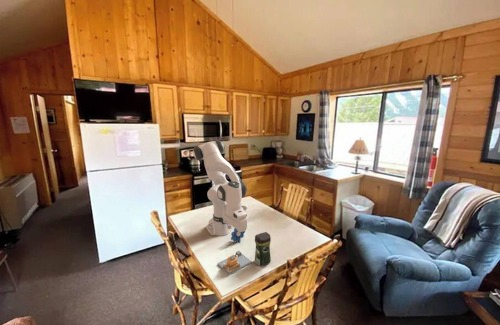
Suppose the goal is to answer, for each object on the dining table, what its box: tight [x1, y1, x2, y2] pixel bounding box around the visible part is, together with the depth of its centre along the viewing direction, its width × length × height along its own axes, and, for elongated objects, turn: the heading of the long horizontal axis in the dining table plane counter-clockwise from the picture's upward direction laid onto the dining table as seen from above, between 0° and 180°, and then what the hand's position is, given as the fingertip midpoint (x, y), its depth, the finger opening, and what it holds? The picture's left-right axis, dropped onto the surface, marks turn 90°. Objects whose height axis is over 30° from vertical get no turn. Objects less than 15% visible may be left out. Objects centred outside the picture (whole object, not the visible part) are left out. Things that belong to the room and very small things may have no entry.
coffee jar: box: [254, 231, 272, 267], centre depth 129 cm, size 10×8×19 cm
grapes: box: [230, 227, 246, 243], centre depth 153 cm, size 12×7×12 cm, turn 122°
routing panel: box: [217, 252, 253, 276], centre depth 129 cm, size 12×17×1 cm
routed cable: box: [232, 250, 242, 258], centre depth 131 cm, size 6×11×2 cm, turn 129°
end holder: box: [223, 261, 240, 273], centre depth 124 cm, size 7×8×2 cm
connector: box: [226, 254, 237, 268], centre depth 124 cm, size 4×4×7 cm
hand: (233, 231), depth 124 cm, fingers open, 8 cm apart
